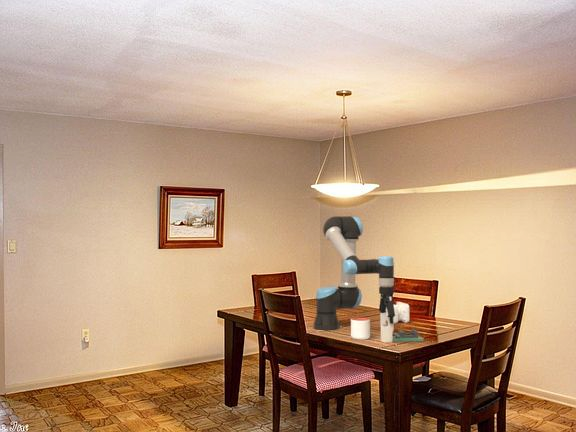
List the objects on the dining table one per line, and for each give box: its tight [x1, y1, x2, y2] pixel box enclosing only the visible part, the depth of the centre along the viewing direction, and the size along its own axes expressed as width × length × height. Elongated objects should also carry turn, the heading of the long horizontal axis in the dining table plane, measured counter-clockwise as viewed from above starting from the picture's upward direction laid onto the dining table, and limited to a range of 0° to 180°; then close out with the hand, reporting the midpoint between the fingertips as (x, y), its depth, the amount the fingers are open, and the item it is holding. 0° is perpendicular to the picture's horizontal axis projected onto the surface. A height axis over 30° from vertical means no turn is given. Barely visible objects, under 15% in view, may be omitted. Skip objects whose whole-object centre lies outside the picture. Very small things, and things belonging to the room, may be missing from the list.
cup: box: [350, 317, 371, 341], centre depth 294 cm, size 10×10×10 cm
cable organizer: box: [386, 301, 410, 325], centre depth 342 cm, size 15×11×12 cm
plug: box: [380, 324, 394, 343], centre depth 287 cm, size 6×4×8 cm
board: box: [392, 328, 425, 343], centre depth 293 cm, size 16×14×4 cm
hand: (386, 327), depth 286 cm, fingers open, 13 cm apart
